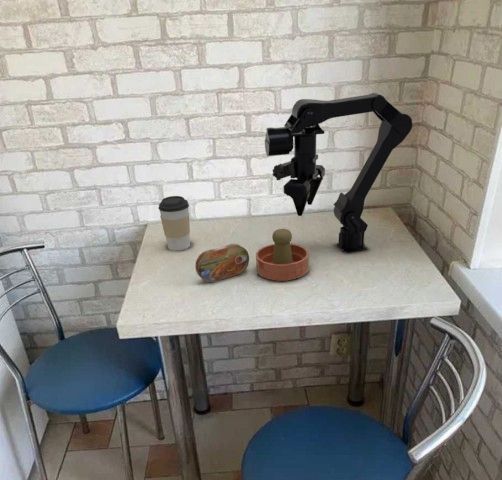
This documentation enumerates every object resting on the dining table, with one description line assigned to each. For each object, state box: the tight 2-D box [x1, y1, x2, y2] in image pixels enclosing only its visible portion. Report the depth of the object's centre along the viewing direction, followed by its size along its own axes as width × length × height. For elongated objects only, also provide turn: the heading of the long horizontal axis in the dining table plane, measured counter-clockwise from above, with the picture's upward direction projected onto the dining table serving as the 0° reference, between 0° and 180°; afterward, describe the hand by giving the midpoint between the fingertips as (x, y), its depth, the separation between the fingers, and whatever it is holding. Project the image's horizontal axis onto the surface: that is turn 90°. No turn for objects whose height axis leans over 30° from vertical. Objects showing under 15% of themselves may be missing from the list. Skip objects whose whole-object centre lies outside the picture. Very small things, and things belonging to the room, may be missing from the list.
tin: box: [194, 243, 250, 283], centre depth 142 cm, size 15×3×8 cm, turn 118°
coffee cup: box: [158, 195, 191, 251], centre depth 160 cm, size 9×9×15 cm
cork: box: [271, 228, 293, 264], centre depth 142 cm, size 6×6×11 cm
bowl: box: [255, 243, 310, 282], centre depth 144 cm, size 14×14×5 cm
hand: (304, 210), depth 147 cm, fingers open, 9 cm apart
